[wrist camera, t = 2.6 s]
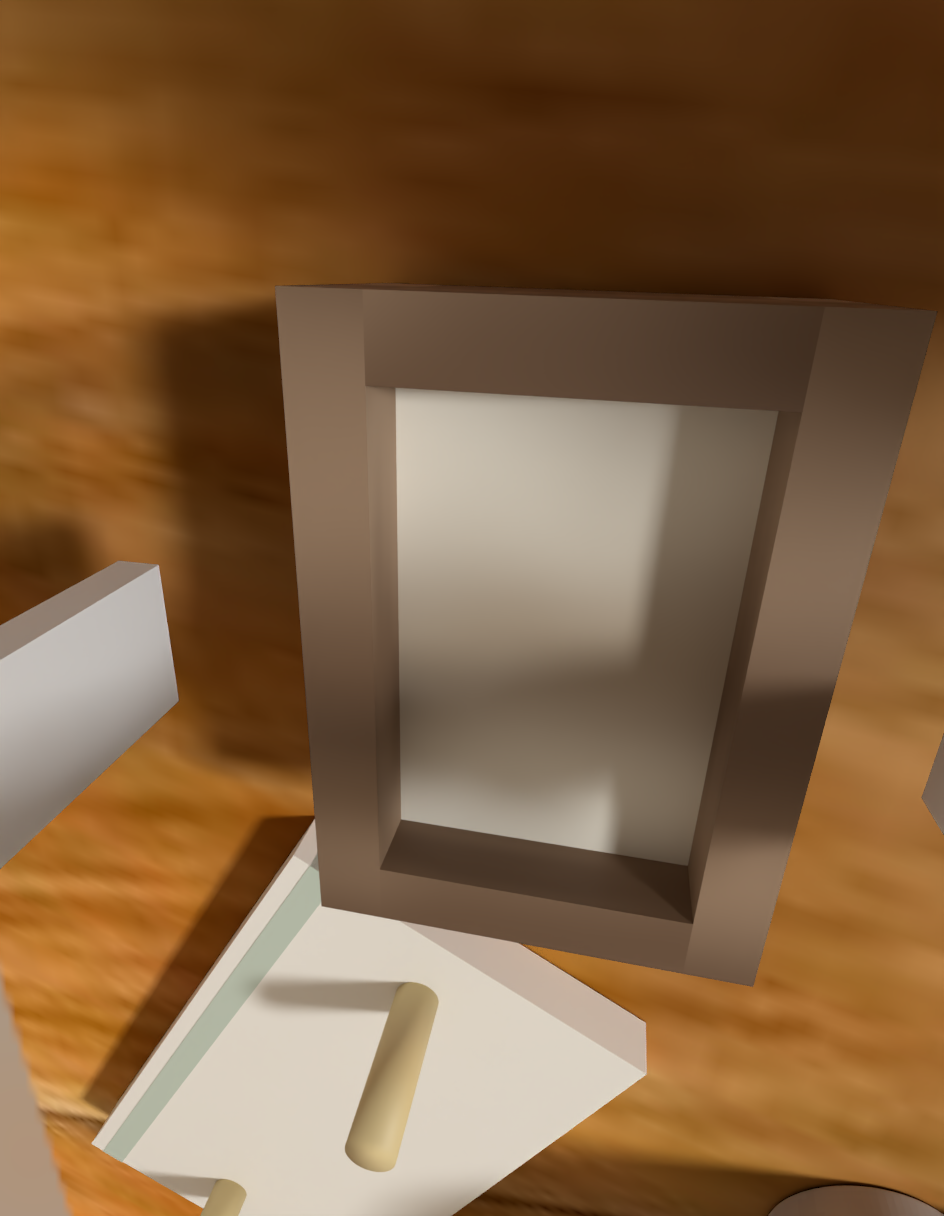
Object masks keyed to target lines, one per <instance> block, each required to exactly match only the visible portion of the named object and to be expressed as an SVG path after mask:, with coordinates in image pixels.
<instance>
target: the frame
mask: <svg viewBox="0 0 944 1216" xmlns="http://www.w3.org/2000/svg"><path fill="white" fill-rule="evenodd" d="M275 293H276V306H277V319H278V333H279V346H280V359H281V373H282V386H283V399H284V413H285V426H286V439H287V453H288V466H289V479H290V493H291V506H292V519H293V533H294V546H295V559H296V573H297V586H298V599H299V613H300V626H301V639H302V653H303V666H304V679H305V693H306V706H307V719H308V733H309V746H310V759H311V773H312V786H313V800H314V813H315V826H316V840H317V853H318V866H319V880H320V893H321V906H323V907H328V908H333V909H339V910H344V911H349V912H355V913H360V914H366V915H371V916H376V917H382V918H387V919H392V920H398V921H403V922H408V923H414V924H419V925H425V926H430V927H435V928H441V929H446V930H451V931H457V932H462V933H467V934H473V935H478V936H484V937H489V938H494V939H500V940H505V941H510V942H516V943H521V944H526V945H532V946H537V947H543V948H548V949H553V950H559V951H564V952H569V953H575V954H580V955H586V956H591V957H596V958H602V959H607V960H612V961H618V962H623V963H628V964H634V965H639V966H645V967H650V968H655V969H661V970H666V971H671V972H677V973H682V974H687V975H693V976H698V977H704V978H709V979H714V980H720V981H725V982H730V983H736V984H741V985H747V986H752V987H753V985H754V981H755V978H756V974H757V970H758V967H759V963H760V959H761V956H762V952H763V948H764V945H765V941H766V937H767V934H768V930H769V926H770V923H771V919H772V915H773V912H774V908H775V904H776V901H777V897H778V893H779V890H780V886H781V882H782V879H783V875H784V871H785V868H786V864H787V860H788V857H789V853H790V849H791V846H792V842H793V838H794V835H795V831H796V828H797V824H798V820H799V817H800V813H801V809H802V806H803V802H804V798H805V795H806V791H807V787H808V784H809V780H810V776H811V773H812V769H813V765H814V762H815V758H816V754H817V751H818V747H819V743H820V740H821V736H822V732H823V729H824V725H825V721H826V718H827V714H828V710H829V707H830V703H831V699H832V696H833V692H834V688H835V685H836V681H837V677H838V674H839V670H840V666H841V663H842V659H843V655H844V652H845V648H846V644H847V641H848V637H849V633H850V630H851V626H852V622H853V619H854V615H855V611H856V608H857V604H858V601H859V597H860V593H861V590H862V586H863V582H864V579H865V575H866V571H867V568H868V564H869V560H870V557H871V553H872V549H873V546H874V542H875V538H876V535H877V531H878V527H879V524H880V520H881V516H882V513H883V509H884V505H885V502H886V498H887V494H888V491H889V487H890V483H891V480H892V476H893V472H894V469H895V465H896V461H897V458H898V454H899V450H900V447H901V443H902V439H903V436H904V432H905V428H906V425H907V421H908V417H909V414H910V410H911V406H912V403H913V399H914V395H915V392H916V388H917V384H918V381H919V377H920V373H921V370H922V366H923V363H924V359H925V355H926V352H927V348H928V344H929V341H930V337H931V333H932V330H933V326H934V322H935V319H936V315H937V311H932V310H923V309H914V308H905V307H897V306H888V305H879V304H870V303H861V302H852V301H844V300H835V299H815V298H788V297H760V296H733V295H705V294H678V293H650V292H623V291H595V290H568V289H540V288H513V287H485V286H458V285H430V284H403V283H369V284H330V285H291V286H275Z"/></svg>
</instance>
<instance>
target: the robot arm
mask: <svg viewBox="0 0 944 1216" xmlns="http://www.w3.org/2000/svg"><path fill="white" fill-rule="evenodd" d="M178 701H179V698H178V691H177V684H176V678H175V671H174V664H173V657H172V651H171V644H170V637H169V631H168V624H167V617H166V611H165V604H164V597H163V590H162V584H161V577H160V570H159V565H156V564H146V563H136V562H126V561H118V562H116V563H114V564H112V565H110V566H108V567H107V568H105V569H103V570H101V571H99V572H97V573H96V574H94V575H92V576H90V577H88V578H86V579H85V580H83V581H81V582H79V583H77V584H75V585H74V586H72V587H70V588H68V589H66V590H64V591H63V592H61V593H59V594H57V595H55V596H53V597H52V598H50V599H48V600H46V601H44V602H42V603H41V604H39V605H37V606H35V607H33V608H31V609H30V610H28V611H26V612H24V613H22V614H20V615H19V616H17V617H15V618H13V619H11V620H9V621H8V622H6V623H4V624H2V625H0V869H1V868H2V867H3V866H4V865H5V864H6V863H7V862H8V861H9V860H10V859H11V858H12V857H13V856H14V855H16V854H17V853H18V852H19V851H20V850H21V849H22V848H23V847H24V846H25V845H26V844H27V843H28V842H29V841H30V840H31V839H33V838H34V837H35V836H36V835H37V834H38V833H39V832H40V831H41V830H42V829H43V828H44V827H45V826H46V825H47V824H49V823H50V822H51V821H52V820H53V819H54V818H55V817H56V816H57V815H58V814H59V813H60V812H61V811H62V810H63V809H64V808H66V807H67V806H68V805H69V804H70V803H71V802H72V801H73V800H74V799H75V798H76V797H77V796H78V795H79V794H80V793H81V792H83V791H84V790H85V789H86V788H87V787H88V786H89V785H90V784H91V783H92V782H93V781H94V780H95V779H96V778H97V777H99V776H100V775H101V774H102V773H103V772H104V771H105V770H106V769H107V768H108V767H109V766H110V765H111V764H112V763H113V762H114V761H116V760H117V759H118V758H119V757H120V756H121V755H122V754H123V753H124V752H125V751H126V750H127V749H128V748H129V747H130V746H131V745H133V744H134V743H135V742H136V741H137V740H138V739H139V738H140V737H141V736H142V735H143V734H144V733H145V732H146V731H147V730H149V729H150V728H151V727H152V726H153V725H154V724H155V723H156V722H157V721H158V720H159V719H160V718H161V717H162V716H163V715H164V714H166V713H167V712H168V711H169V710H170V709H171V708H172V707H173V706H174V705H175V704H176V703H177V702H178ZM922 799H923V801H924V803H925V804H926V806H927V808H928V809H929V811H930V813H931V814H932V816H933V818H934V819H935V821H936V823H937V825H938V826H939V828H940V830H941V831H942V833H943V835H944V735H943V737H942V740H941V743H940V746H939V749H938V752H937V755H936V758H935V761H934V764H933V766H932V769H931V772H930V775H929V778H928V781H927V784H926V787H925V790H924V792H923V795H922Z"/></svg>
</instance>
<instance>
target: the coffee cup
mask: <svg viewBox="0 0 944 1216" xmlns="http://www.w3.org/2000/svg"><path fill="white" fill-rule="evenodd" d="M768 1216H944V1215H943V1214H942V1213H941V1212H939V1211H938V1210H936V1209H934V1208H933V1207H931V1206H929V1205H927V1204H925V1203H923V1202H921V1201H919V1200H917V1199H914V1198H911V1197H909V1196H906V1195H903V1194H900V1193H897V1192H893V1191H888V1190H884V1189H879V1188H873V1187H864V1186H851V1185H849V1186H828V1187H821V1188H815V1189H811V1190H807V1191H804V1192H800V1193H798V1194H795V1195H793V1196H791V1197H789V1198H787V1199H785V1200H784V1201H782V1202H781V1203H779V1204H778V1205H777V1206H776V1207H775V1208H774V1209H773V1210H772V1211H771V1212H770V1214H769V1215H768Z"/></svg>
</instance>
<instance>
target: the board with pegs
mask: <svg viewBox="0 0 944 1216" xmlns="http://www.w3.org/2000/svg"><path fill="white" fill-rule="evenodd" d="M646 1074H647V1065H646V1023H645V1022H644V1021H642V1020H640V1019H639V1018H637V1017H636V1016H634V1015H633V1014H631V1013H629V1012H628V1011H626V1010H625V1009H623V1008H621V1007H620V1006H618V1005H617V1004H615V1003H613V1002H612V1001H610V1000H609V999H607V998H605V997H604V996H602V995H601V994H599V993H597V992H596V991H594V990H593V989H591V988H589V987H588V986H586V985H585V984H583V983H581V982H580V981H578V980H577V979H575V978H573V977H572V976H570V975H569V974H567V973H565V972H564V971H562V970H561V969H559V968H557V967H556V966H554V965H553V964H551V963H549V962H548V961H546V960H545V959H543V958H541V957H540V956H538V955H537V954H535V953H533V952H532V951H530V950H529V949H527V948H525V947H524V946H522V945H521V944H519V943H516V942H510V941H505V940H500V939H494V938H489V937H484V936H478V935H473V934H467V933H462V932H457V931H451V930H446V929H441V928H435V927H430V926H425V925H419V924H414V923H408V922H403V921H398V920H392V919H387V918H382V917H376V916H371V915H366V914H360V913H355V912H349V911H344V910H339V909H333V908H328V907H323V906H321V893H320V880H319V866H318V853H317V840H316V826H315V819H314V820H313V822H312V823H311V825H310V826H309V828H308V829H307V831H306V832H305V833H304V835H303V836H302V838H301V839H300V841H299V842H298V843H297V845H296V846H295V848H294V849H293V851H292V852H291V854H290V855H289V856H288V858H287V859H286V861H285V862H284V864H283V865H282V866H281V868H280V869H279V871H278V872H277V874H276V875H275V877H274V878H273V879H272V881H271V882H270V884H269V885H268V887H267V888H266V889H265V891H264V892H263V894H262V895H261V897H260V898H259V900H258V901H257V902H256V904H255V905H254V907H253V908H252V910H251V911H250V912H249V914H248V915H247V917H246V918H245V920H244V921H243V923H242V924H241V925H240V927H239V928H238V930H237V931H236V933H235V934H234V935H233V937H232V938H231V940H230V941H229V943H228V944H227V946H226V947H225V948H224V950H223V951H222V953H221V954H220V956H219V957H218V959H217V960H216V961H215V963H214V964H213V966H212V967H211V969H210V970H209V971H208V973H207V974H206V976H205V977H204V979H203V980H202V982H201V983H200V984H199V986H198V987H197V989H196V990H195V992H194V993H193V994H192V996H191V997H190V999H189V1000H188V1002H187V1003H186V1005H185V1006H184V1007H183V1009H182V1010H181V1012H180V1013H179V1015H178V1016H177V1017H176V1019H175V1020H174V1022H173V1023H172V1025H171V1026H170V1028H169V1029H168V1030H167V1032H166V1033H165V1035H164V1036H163V1038H162V1039H161V1040H160V1042H159V1043H158V1045H157V1046H156V1048H155V1049H154V1051H153V1052H152V1053H151V1055H150V1056H149V1058H148V1059H147V1061H146V1062H145V1063H144V1065H143V1066H142V1068H141V1069H140V1071H139V1072H138V1074H137V1075H136V1076H135V1078H134V1079H133V1081H132V1082H131V1084H130V1085H129V1086H128V1088H127V1089H126V1091H125V1092H124V1094H123V1095H122V1097H121V1098H120V1099H119V1101H118V1102H117V1104H116V1105H115V1107H114V1109H113V1110H112V1112H111V1113H110V1115H109V1117H108V1118H107V1120H106V1121H105V1123H104V1125H103V1126H102V1128H101V1129H100V1131H99V1133H98V1134H97V1136H96V1137H95V1139H94V1141H93V1142H92V1144H93V1145H94V1146H96V1147H98V1148H100V1149H101V1150H103V1152H105V1153H107V1154H109V1155H110V1156H112V1157H114V1158H116V1159H117V1160H119V1161H121V1162H124V1163H126V1164H127V1165H129V1166H131V1167H132V1168H134V1169H136V1170H138V1171H139V1172H141V1173H143V1174H145V1175H146V1176H148V1177H150V1178H151V1179H153V1180H155V1181H157V1182H158V1183H160V1184H162V1185H164V1186H165V1187H167V1188H169V1189H171V1190H172V1191H174V1192H176V1193H177V1194H179V1195H181V1196H183V1197H184V1198H186V1199H188V1200H190V1201H191V1202H193V1203H195V1204H196V1205H198V1206H200V1207H202V1208H203V1211H202V1213H201V1215H200V1216H452V1215H453V1214H455V1213H456V1212H457V1211H459V1210H460V1209H462V1208H463V1207H464V1206H466V1205H467V1204H468V1203H470V1202H471V1201H473V1200H474V1199H475V1198H477V1197H478V1196H479V1195H481V1194H482V1193H484V1192H485V1191H486V1190H488V1189H489V1188H491V1187H492V1186H493V1185H495V1184H496V1183H497V1182H499V1181H500V1180H502V1179H503V1178H504V1177H506V1176H507V1175H508V1174H510V1173H511V1172H513V1171H514V1170H515V1169H517V1168H518V1167H519V1166H521V1165H522V1164H524V1163H525V1162H526V1161H528V1160H529V1159H531V1158H532V1157H533V1156H535V1155H536V1154H537V1153H539V1152H540V1151H542V1150H543V1149H544V1148H546V1147H547V1146H548V1145H550V1144H551V1143H553V1142H554V1141H555V1140H557V1139H558V1138H559V1137H561V1136H562V1135H564V1134H565V1133H566V1132H568V1131H569V1130H571V1129H572V1128H573V1127H575V1126H576V1125H577V1124H579V1123H580V1122H582V1121H583V1120H584V1119H586V1118H587V1117H588V1116H590V1115H591V1114H593V1113H594V1112H595V1111H597V1110H598V1109H599V1108H601V1107H602V1106H604V1105H605V1104H606V1103H608V1102H609V1101H611V1100H612V1099H613V1098H615V1097H616V1096H617V1095H619V1094H620V1093H622V1092H623V1091H624V1090H626V1089H627V1088H628V1087H630V1086H631V1085H633V1084H634V1083H635V1082H637V1081H638V1080H639V1079H641V1078H642V1077H644V1076H645V1075H646Z"/></svg>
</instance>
